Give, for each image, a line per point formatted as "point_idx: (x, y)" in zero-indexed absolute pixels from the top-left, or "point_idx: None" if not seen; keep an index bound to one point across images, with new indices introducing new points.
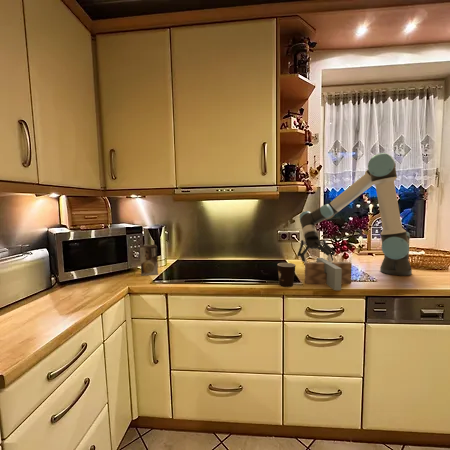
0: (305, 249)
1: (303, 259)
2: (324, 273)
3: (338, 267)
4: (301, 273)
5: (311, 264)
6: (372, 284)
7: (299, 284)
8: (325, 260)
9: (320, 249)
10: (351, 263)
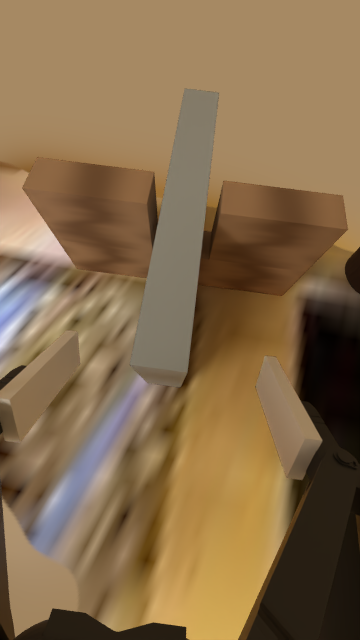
0: (326, 543)
1: (308, 409)
2: (202, 244)
3: (187, 105)
4: (245, 472)
5: (309, 195)
6: (11, 217)
7: (314, 272)
8: (164, 256)
9: (5, 582)
10: (39, 160)
